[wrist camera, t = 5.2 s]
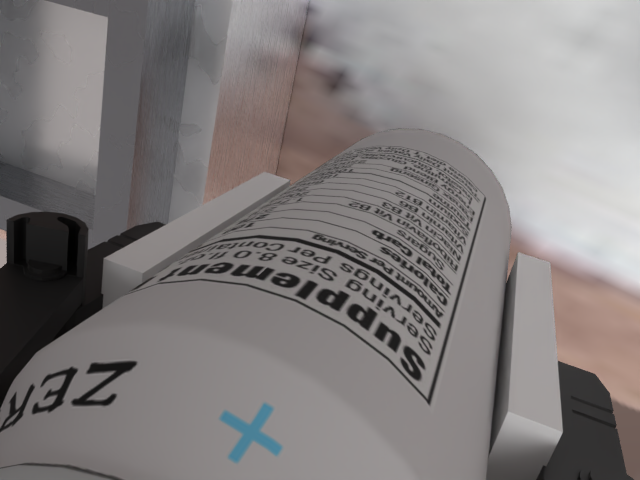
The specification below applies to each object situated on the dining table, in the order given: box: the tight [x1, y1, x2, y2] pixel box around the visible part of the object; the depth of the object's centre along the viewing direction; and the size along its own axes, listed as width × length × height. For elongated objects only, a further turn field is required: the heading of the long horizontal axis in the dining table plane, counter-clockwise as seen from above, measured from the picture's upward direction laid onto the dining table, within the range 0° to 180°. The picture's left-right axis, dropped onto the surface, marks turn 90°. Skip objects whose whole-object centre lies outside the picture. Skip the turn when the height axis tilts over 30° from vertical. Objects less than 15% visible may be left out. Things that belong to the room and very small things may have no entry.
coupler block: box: [0, 0, 309, 249], centre depth 27 cm, size 14×14×11 cm
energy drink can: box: [0, 129, 512, 480], centre depth 12 cm, size 6×6×15 cm
